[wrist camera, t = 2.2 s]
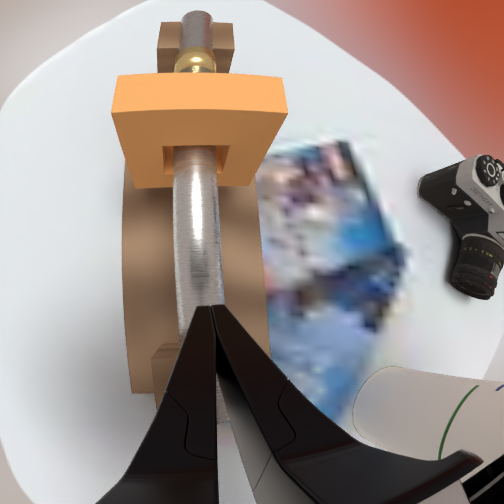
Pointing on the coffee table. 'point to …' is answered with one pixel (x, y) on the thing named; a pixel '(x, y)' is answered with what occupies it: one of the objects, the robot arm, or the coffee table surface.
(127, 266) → the stand
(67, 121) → the coffee table surface
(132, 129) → the collar
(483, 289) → the camera
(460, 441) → the cylindrical container
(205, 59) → the pipe
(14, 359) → the coffee table surface
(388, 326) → the coffee table surface
